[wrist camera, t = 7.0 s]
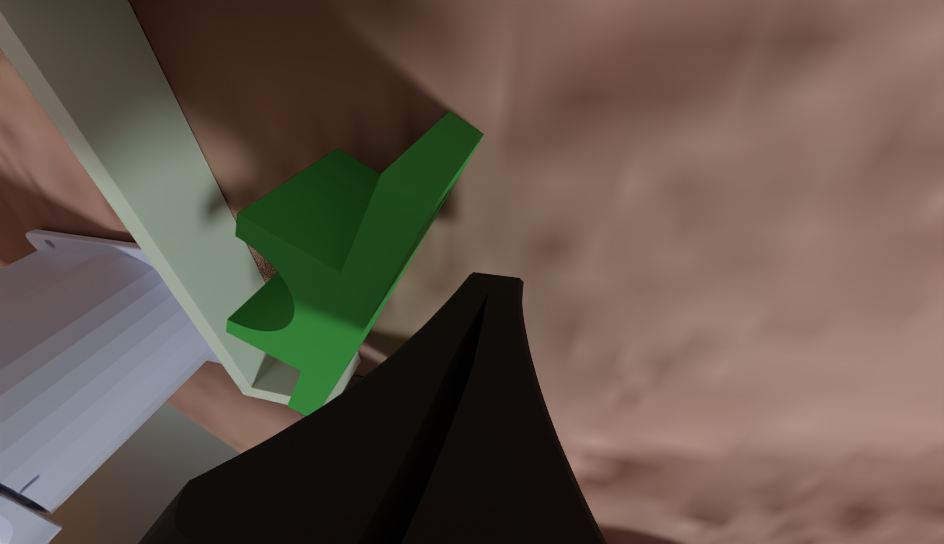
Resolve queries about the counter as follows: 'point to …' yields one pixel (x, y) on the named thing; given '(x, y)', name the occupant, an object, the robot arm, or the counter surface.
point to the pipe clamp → (341, 252)
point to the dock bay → (146, 166)
